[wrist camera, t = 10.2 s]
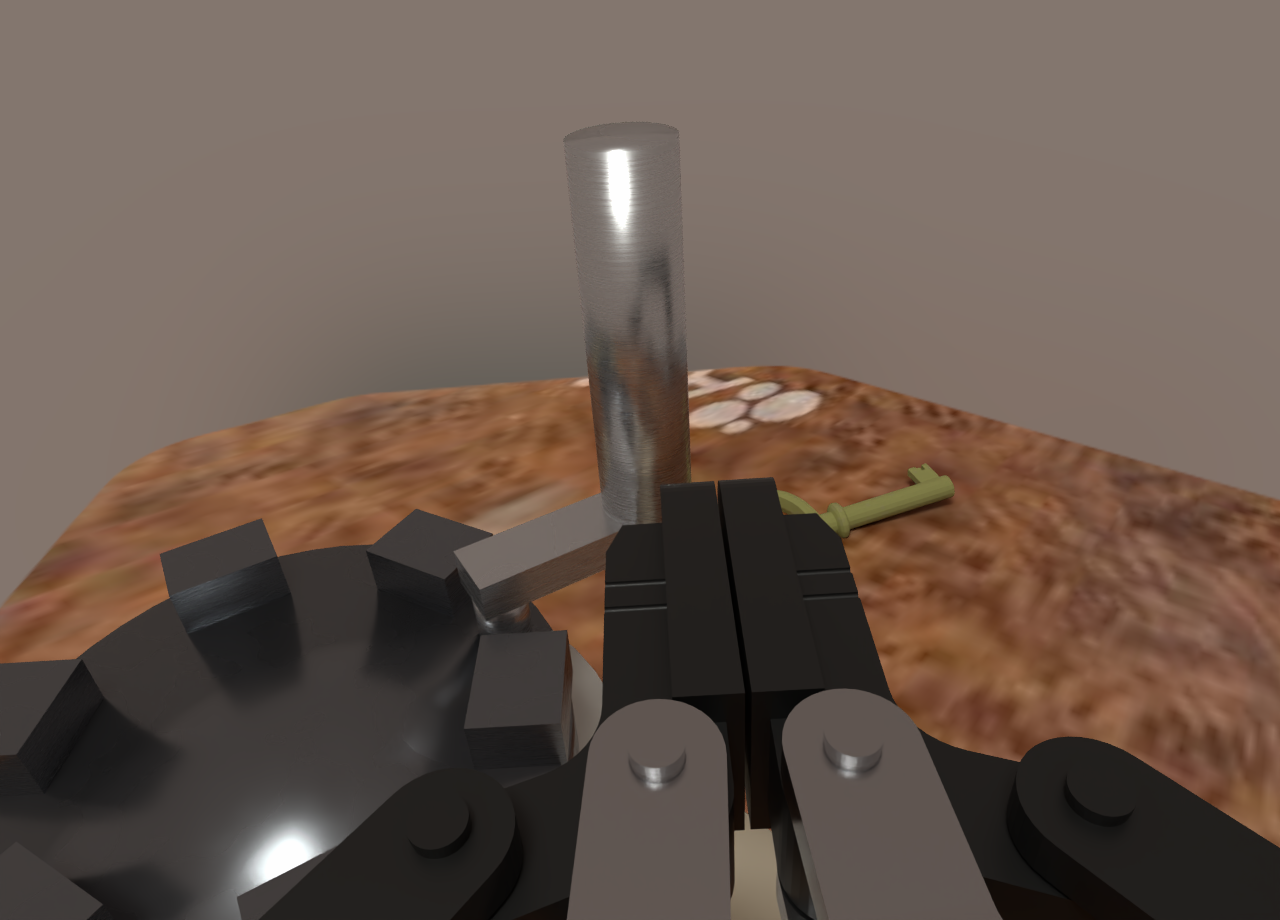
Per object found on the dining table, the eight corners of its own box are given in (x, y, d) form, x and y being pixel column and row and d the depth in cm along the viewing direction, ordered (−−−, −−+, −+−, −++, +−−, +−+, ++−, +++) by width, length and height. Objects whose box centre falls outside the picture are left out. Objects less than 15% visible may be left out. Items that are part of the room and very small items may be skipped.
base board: (444, 612, 43) (436, 581, 42) (827, 909, 29) (831, 876, 28) (-84, 955, 30) (-115, 925, 29) (172, 1748, 17) (132, 1746, 16)
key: (960, 510, 47) (965, 478, 46) (788, 609, 42) (790, 575, 41) (861, 454, 53) (864, 423, 51) (697, 536, 47) (696, 504, 46)
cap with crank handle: (99, 653, 31) (-168, 185, 22) (670, 552, 34) (645, 97, 25) (-147, 1217, 18) (-1078, 636, 9) (822, 980, 21) (890, 342, 11)
